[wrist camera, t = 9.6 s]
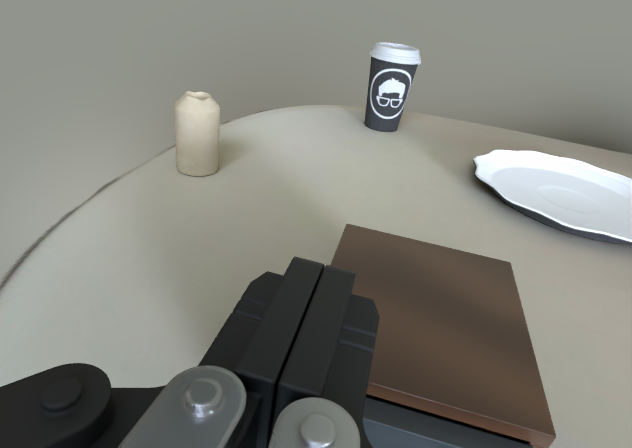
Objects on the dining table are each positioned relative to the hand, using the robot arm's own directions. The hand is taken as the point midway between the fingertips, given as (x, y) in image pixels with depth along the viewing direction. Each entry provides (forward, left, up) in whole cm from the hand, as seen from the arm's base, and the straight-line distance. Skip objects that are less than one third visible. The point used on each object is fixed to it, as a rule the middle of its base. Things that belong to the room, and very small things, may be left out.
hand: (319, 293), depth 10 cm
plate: (+59, -27, -19) cm, 67 cm away
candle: (+42, +25, -19) cm, 52 cm away
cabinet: (+13, -4, -18) cm, 23 cm away
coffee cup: (+78, +4, -19) cm, 80 cm away
